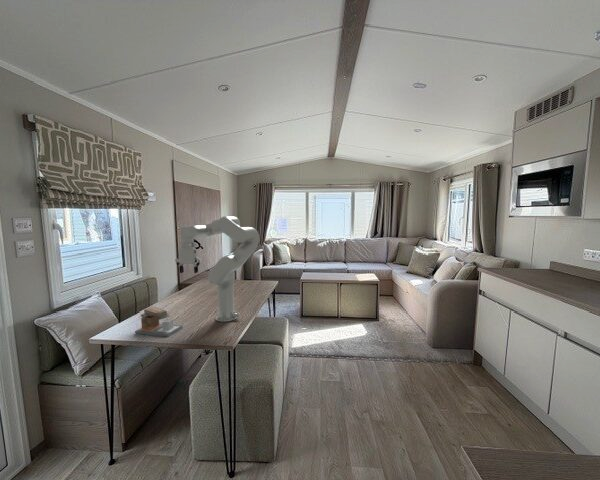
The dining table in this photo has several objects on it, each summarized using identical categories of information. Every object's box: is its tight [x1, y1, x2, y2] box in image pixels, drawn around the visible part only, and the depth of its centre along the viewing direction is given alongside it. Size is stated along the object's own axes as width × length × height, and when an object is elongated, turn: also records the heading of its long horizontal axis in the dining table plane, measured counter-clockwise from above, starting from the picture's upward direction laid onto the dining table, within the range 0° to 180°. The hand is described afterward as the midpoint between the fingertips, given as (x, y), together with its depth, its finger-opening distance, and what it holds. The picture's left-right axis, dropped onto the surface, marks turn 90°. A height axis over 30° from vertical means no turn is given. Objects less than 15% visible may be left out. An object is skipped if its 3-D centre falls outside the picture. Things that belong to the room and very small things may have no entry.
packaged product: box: [140, 305, 171, 320], centre depth 185 cm, size 18×5×10 cm
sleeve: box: [140, 315, 160, 330], centre depth 160 cm, size 6×6×6 cm
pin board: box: [134, 318, 183, 337], centre depth 159 cm, size 20×12×6 cm, turn 78°
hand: (188, 272), depth 185 cm, fingers open, 9 cm apart
